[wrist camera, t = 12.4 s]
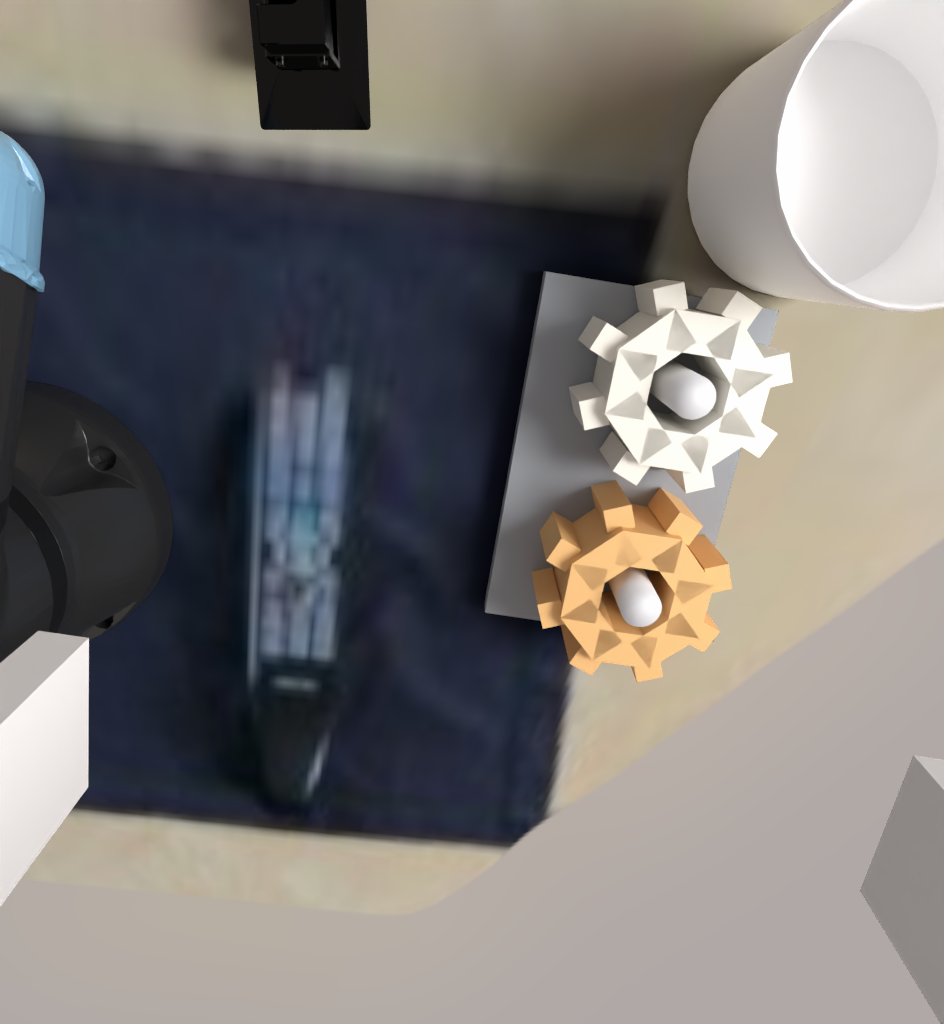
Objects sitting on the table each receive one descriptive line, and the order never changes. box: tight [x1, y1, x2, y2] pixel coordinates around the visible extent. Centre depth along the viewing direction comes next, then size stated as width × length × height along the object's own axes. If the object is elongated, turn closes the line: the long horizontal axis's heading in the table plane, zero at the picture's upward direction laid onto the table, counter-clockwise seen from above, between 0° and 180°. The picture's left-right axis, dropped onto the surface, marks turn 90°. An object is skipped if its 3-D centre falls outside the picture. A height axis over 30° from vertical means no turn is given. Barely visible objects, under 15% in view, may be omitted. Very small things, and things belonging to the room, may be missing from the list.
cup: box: [688, 0, 944, 312], centre depth 33 cm, size 12×12×12 cm
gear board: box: [485, 271, 779, 627], centre depth 40 cm, size 12×19×8 cm, turn 171°
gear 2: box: [532, 480, 732, 682], centre depth 41 cm, size 10×10×5 cm
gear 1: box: [569, 279, 792, 493], centre depth 38 cm, size 10×10×5 cm
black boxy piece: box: [249, 0, 370, 130], centre depth 35 cm, size 12×7×5 cm, turn 0°
